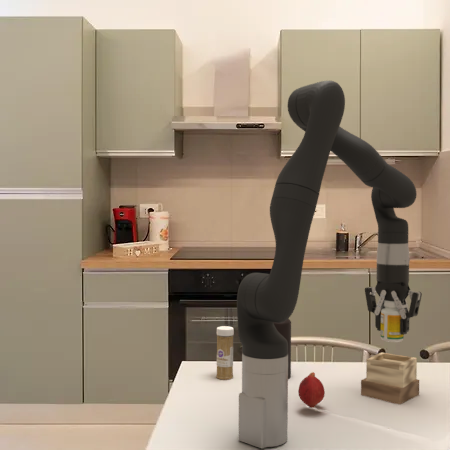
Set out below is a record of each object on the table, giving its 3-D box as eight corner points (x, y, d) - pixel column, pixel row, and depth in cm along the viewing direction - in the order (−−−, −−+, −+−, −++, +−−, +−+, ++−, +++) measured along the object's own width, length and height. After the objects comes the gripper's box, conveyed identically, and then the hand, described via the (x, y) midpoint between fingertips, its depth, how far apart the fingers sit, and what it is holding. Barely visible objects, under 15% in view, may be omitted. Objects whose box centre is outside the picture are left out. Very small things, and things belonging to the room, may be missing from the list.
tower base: (399, 406, 134) (399, 388, 134) (360, 396, 141) (361, 380, 141) (419, 396, 141) (419, 379, 141) (381, 387, 148) (381, 371, 148)
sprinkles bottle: (213, 379, 154) (214, 328, 153) (219, 374, 158) (220, 325, 158) (230, 381, 152) (230, 329, 152) (235, 376, 156) (236, 326, 156)
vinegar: (276, 382, 151) (277, 305, 150) (260, 376, 156) (260, 302, 156) (296, 378, 155) (296, 303, 154) (279, 372, 160) (279, 299, 160)
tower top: (403, 387, 135) (403, 365, 135) (366, 380, 140) (366, 359, 140) (416, 379, 142) (416, 357, 142) (380, 372, 147) (381, 352, 147)
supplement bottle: (375, 339, 141) (376, 300, 141) (389, 336, 145) (389, 297, 144) (395, 343, 137) (395, 302, 137) (408, 340, 140) (408, 300, 140)
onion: (304, 413, 128) (304, 376, 128) (294, 404, 134) (294, 369, 134) (328, 410, 130) (329, 374, 130) (317, 402, 135) (318, 368, 135)
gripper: (358, 261, 142) (357, 330, 143) (414, 265, 133) (413, 339, 133) (373, 259, 148) (372, 325, 148) (428, 262, 138) (427, 334, 139)
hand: (392, 331), depth 141 cm, fingers closed on supplement bottle, 5 cm apart
